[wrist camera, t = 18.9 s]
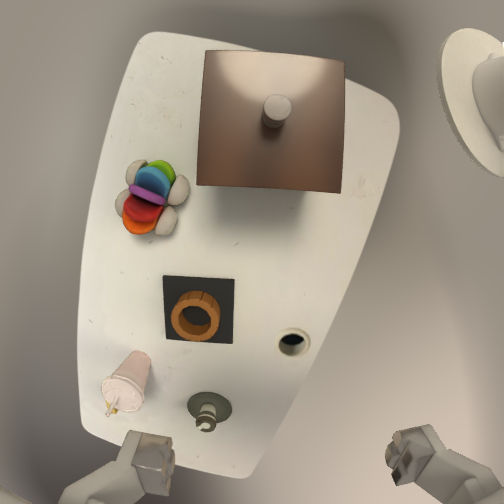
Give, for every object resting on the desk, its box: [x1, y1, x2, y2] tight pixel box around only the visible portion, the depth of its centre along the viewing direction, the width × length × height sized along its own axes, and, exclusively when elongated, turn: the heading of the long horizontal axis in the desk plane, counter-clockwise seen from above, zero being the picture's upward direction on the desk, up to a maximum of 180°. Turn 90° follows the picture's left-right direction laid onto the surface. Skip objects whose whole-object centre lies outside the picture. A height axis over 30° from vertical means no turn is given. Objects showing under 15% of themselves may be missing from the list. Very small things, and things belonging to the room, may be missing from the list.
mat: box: [163, 275, 235, 344], centre depth 43 cm, size 10×10×1 cm
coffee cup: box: [187, 393, 232, 432], centre depth 46 cm, size 12×12×5 cm
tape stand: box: [196, 50, 345, 194], centre depth 29 cm, size 12×12×18 cm
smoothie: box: [101, 351, 151, 417], centre depth 39 cm, size 6×6×14 cm
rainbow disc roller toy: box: [115, 160, 190, 236], centre depth 36 cm, size 8×10×7 cm
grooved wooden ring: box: [171, 291, 220, 342], centre depth 41 cm, size 6×6×3 cm
